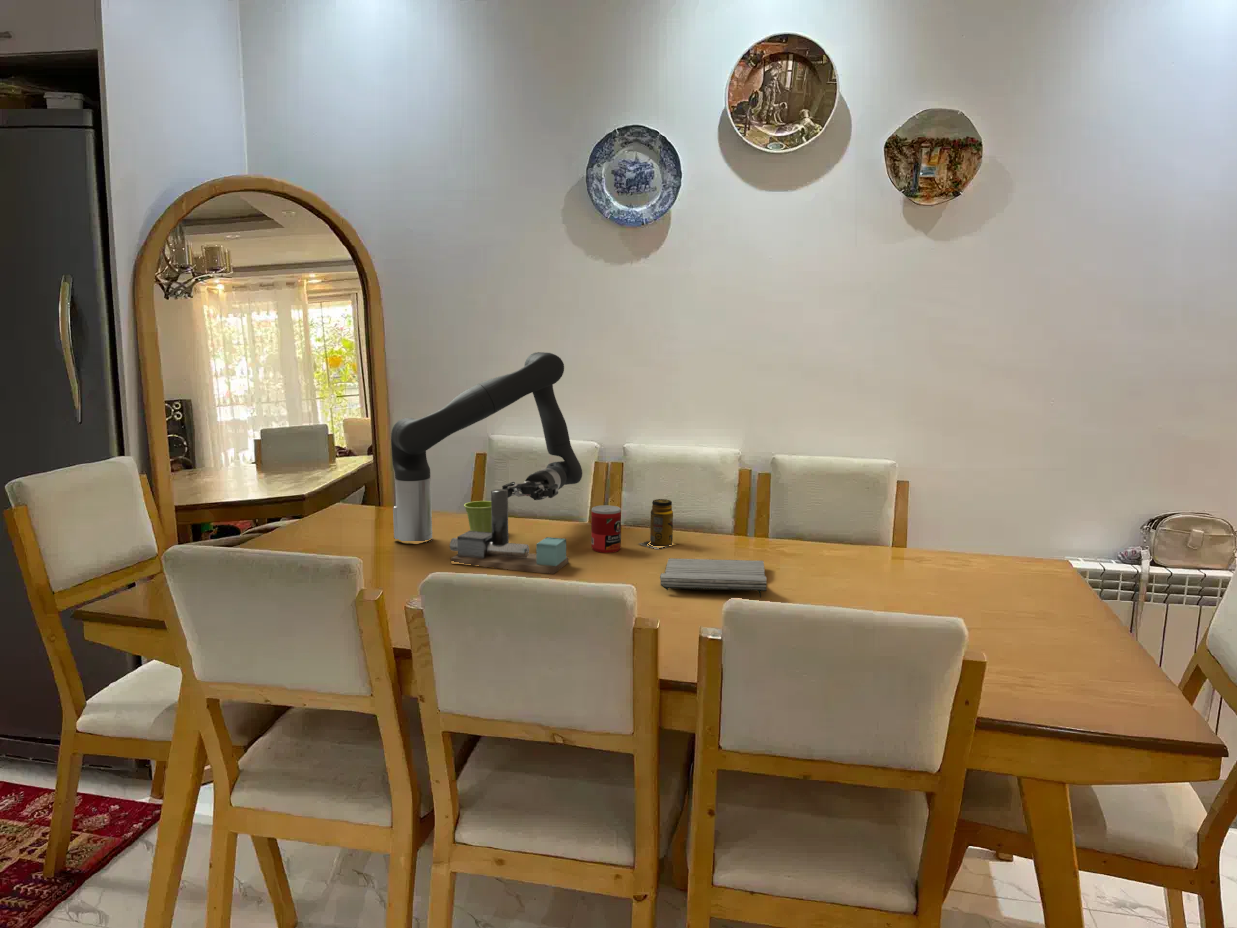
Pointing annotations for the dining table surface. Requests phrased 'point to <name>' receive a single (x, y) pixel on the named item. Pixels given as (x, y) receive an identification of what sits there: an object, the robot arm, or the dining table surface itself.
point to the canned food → (606, 528)
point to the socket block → (551, 551)
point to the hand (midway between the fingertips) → (519, 495)
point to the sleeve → (473, 544)
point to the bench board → (511, 563)
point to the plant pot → (479, 516)
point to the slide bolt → (499, 529)
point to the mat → (714, 574)
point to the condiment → (661, 524)
